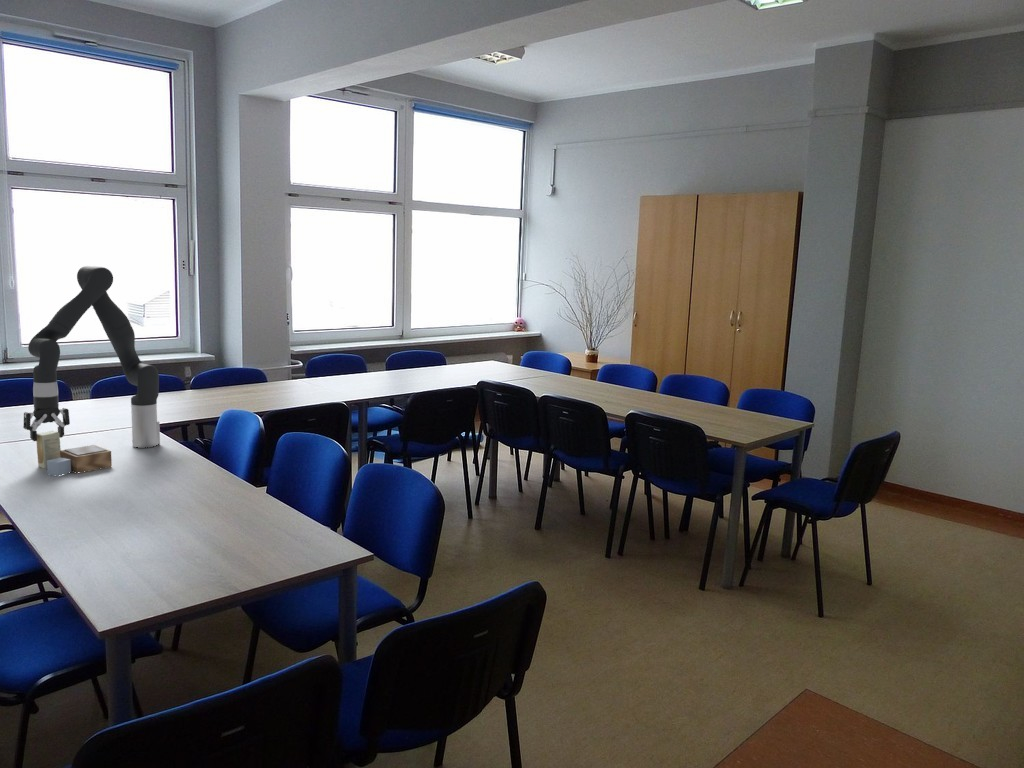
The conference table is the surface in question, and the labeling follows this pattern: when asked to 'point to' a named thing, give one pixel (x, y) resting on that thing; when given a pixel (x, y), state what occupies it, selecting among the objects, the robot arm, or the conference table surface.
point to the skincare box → (47, 447)
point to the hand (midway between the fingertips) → (47, 439)
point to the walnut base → (87, 458)
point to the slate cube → (58, 466)
